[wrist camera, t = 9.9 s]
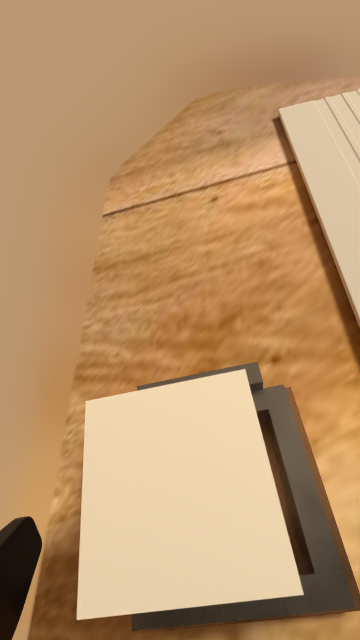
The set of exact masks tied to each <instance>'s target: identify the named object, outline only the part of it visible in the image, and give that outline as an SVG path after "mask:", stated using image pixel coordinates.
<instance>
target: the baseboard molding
mask: <svg viewBox="0 0 360 640" xmlns="http://www.w3.org/2000/svg"><path fill="white" fill-rule="evenodd" d="M278 114H279V118H280V120H281V123H282V125H283V128H284V131H285V133H286V136H287V139H288V141H289V144H290V147H291V149H292V152H293V154H294V157H295V160H296V162H297V165H298V168H299V170H300V173H301V175H302V178H303V181H304V183H305V186H306V189H307V191H308V194H309V197H310V199H311V202H312V204H313V207H314V210H315V212H316V215H317V218H318V220H319V223H320V226H321V228H322V231H323V233H324V236H325V239H326V241H327V244H328V247H329V249H330V252H331V254H332V257H333V260H334V262H335V265H336V268H337V270H338V273H339V276H340V278H341V281H342V283H343V286H344V289H345V291H346V294H347V297H348V299H349V302H350V304H351V307H352V310H353V312H354V315H355V318H356V320H357V323H358V326H359V328H360V89H357V90H356V91H352V92H348V93H346V92H345V93H341V94H340V95H336V96H332V97H330V96H329V97H325V98H324V99H320V100H316V101H314V100H313V101H309V102H305V103H301V104H297V105H293V106H289V107H285V108H281V109H279V111H278Z"/></svg>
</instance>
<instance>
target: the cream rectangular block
mask: <svg viewBox="0 0 360 640" xmlns="http://www.w3.org/2000/svg"><path fill="white" fill-rule="evenodd" d="M297 595H304V593H303V589H302V586H301V582H300V578H299V574H298V570H297V566H296V563H295V559H294V555H293V551H292V547H291V543H290V539H289V536H288V532H287V528H286V524H285V520H284V516H283V513H282V509H281V505H280V501H279V497H278V493H277V490H276V486H275V482H274V478H273V474H272V470H271V466H270V463H269V459H268V455H267V451H266V447H265V443H264V440H263V436H262V432H261V428H260V424H259V420H258V417H257V413H256V409H255V405H254V401H253V397H252V394H251V390H250V386H249V382H248V378H247V374H246V370H245V369H242V370H237V371H232V372H227V373H222V374H218V375H213V376H208V377H203V378H198V379H193V380H188V381H183V382H178V383H173V384H168V385H163V386H158V387H154V388H149V389H144V390H139V391H134V392H129V393H124V394H119V395H114V396H109V397H104V398H99V399H94V400H89V401H86V411H85V434H84V458H83V481H82V504H81V528H80V551H79V575H78V598H77V620H82V619H91V618H100V617H109V616H118V615H127V614H136V613H145V612H154V611H163V610H172V609H181V608H190V607H199V606H208V605H217V604H226V603H235V602H244V601H253V600H262V599H271V598H279V597H288V596H297Z"/></svg>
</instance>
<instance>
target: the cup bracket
mask: <svg viewBox="0 0 360 640" xmlns="http://www.w3.org/2000/svg"><path fill="white" fill-rule="evenodd" d="M242 369H245V370H246V374H247V378H248V382H249V386H250V390H251V394H252V397H253V401H254V405H255V409H256V413H257V417H258V420H259V424H260V428H261V432H262V436H263V440H264V443H265V447H266V451H267V455H268V459H269V463H270V466H271V470H272V474H273V478H274V482H275V486H276V490H277V493H278V497H279V501H280V505H281V509H282V513H283V516H284V520H285V524H286V528H287V532H288V536H289V539H290V543H291V547H292V551H293V555H294V559H295V563H296V566H297V570H298V574H299V578H300V582H301V586H302V589H303V593H304V595H297V596H288V597H279V598H271V599H262V600H253V601H244V602H235V603H226V604H217V605H208V606H199V607H190V608H181V609H172V610H163V611H154V612H145V613H136V614H132V631H138V630H143V632H152V631H162V630H172V629H182V628H192V627H202V626H212V625H221V624H231V623H241V622H251V621H261V620H271V619H281V618H291V617H301V616H310V615H320V614H330V613H340V612H350V611H360V593H359V590H358V587H357V584H356V581H355V578H354V575H353V572H352V569H351V566H350V563H349V560H348V557H347V554H346V551H345V548H344V545H343V542H342V539H341V536H340V533H339V530H338V527H337V524H336V521H335V518H334V515H333V512H332V509H331V506H330V503H329V500H328V497H327V494H326V491H325V488H324V485H323V482H322V479H321V476H320V473H319V470H318V467H317V464H316V461H315V458H314V455H313V452H312V449H311V446H310V444H309V441H308V438H307V435H306V432H305V429H304V426H303V423H302V420H301V417H300V414H299V411H298V408H297V405H296V402H295V399H294V396H293V393H292V390H291V387H289V388H285V387H284V385H279V386H274V387H268V388H263V380H262V376H261V373H260V369H259V366H258V362H254V363H249V364H244V365H239V366H234V367H229V368H225V369H220V370H215V371H210V372H205V373H200V374H195V375H190V376H185V377H180V378H175V379H171V380H166V381H161V382H156V383H151V384H146V385H141V386H137V391H139V390H144V389H149V388H154V387H158V386H163V385H168V384H173V383H178V382H183V381H188V380H193V379H198V378H203V377H208V376H213V375H218V374H222V373H227V372H232V371H237V370H242Z"/></svg>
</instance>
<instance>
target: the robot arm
mask: <svg viewBox="0 0 360 640" xmlns="http://www.w3.org/2000/svg"><path fill="white" fill-rule="evenodd" d="M41 548H42V539H41V537H40V534H39V532H38V530H37V527H36V525H35V522H34V520H33V519H32V518H31V517H29V516H27V517H20V518H17V519H14V520H13V521H11V522H10V523H9V524H8V525H7V526H5V527H4V528H3V529H2V530H1V531H0V640H12V638H13V635H14V632H15V630H16V627H17V624H18V622H19V619H20V616H21V613H22V610H23V607H24V604H25V600H26V597H27V594H28V591H29V587H30V584H31V581H32V578H33V575H34V571H35V568H36V565H37V562H38V559H39V556H40V552H41Z"/></svg>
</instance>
